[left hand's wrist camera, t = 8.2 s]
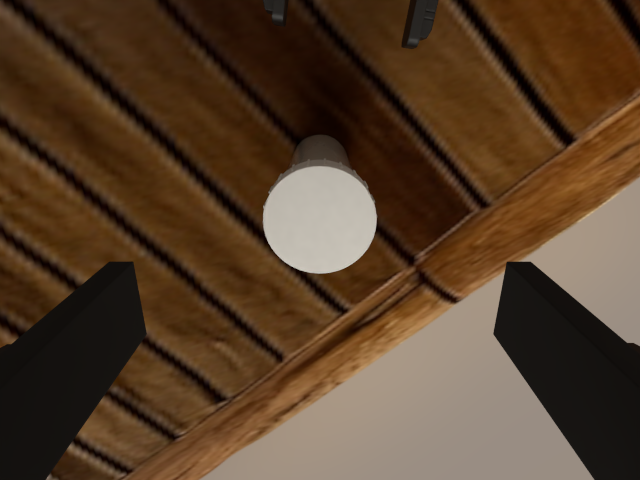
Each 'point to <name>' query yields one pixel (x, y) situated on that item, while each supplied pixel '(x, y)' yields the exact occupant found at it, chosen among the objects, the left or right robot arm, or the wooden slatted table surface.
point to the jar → (319, 151)
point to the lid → (319, 216)
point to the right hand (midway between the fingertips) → (344, 36)
